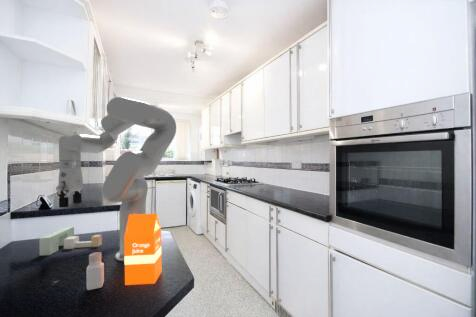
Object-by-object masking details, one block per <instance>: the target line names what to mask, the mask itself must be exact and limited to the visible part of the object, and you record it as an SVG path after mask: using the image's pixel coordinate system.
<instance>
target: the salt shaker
mask: <svg viewBox="0 0 476 317" xmlns="http://www.w3.org/2000/svg"><path fill="white" fill-rule="evenodd" d="M102 257H103V256H102V252H101V251H97V252H92V253H90V254H89V255H88V265H87V267H86V275H85V276H86V279H85V280H86V290H87V291H92V290H96V289H101V288H102V287H103V285H104V283H105V263H104V262H102Z"/></svg>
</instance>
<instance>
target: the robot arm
mask: <svg viewBox="0 0 476 317" xmlns="http://www.w3.org/2000/svg"><path fill="white" fill-rule="evenodd" d="M106 113H107V115H106V116H104V117H102V118H101V121H100V124H101V127H102V129H103V130H104V131H103V132H101V133H100V134H98V135H91V134H84V133H83V134H82V133H75V134H71V135H61V136H60V137H59V138H58V168H59V172H58V184H57V186H56V187H55V191H56V193H57V198H58V207H59V208H68V207H69V197H68V196H69V193H70V192H71V193H73V194H72V204H82V202H83V201H82V193H83V189H84V182H83V180H84V179H83V171H82V157H81V156H82V155H81V154H82V153H88V154H89V153H90V154H94V153H95V154H98V153H103V152H104V151H107V150H108V149H109V148H111V147H112V146H113V145H115V143H116V142H117V140H118V137H119V135H120V134H122V133H124V132H125V131H127V130H128V129H130V128H131V127H133V126H134V125H137V126H140V127H144V128H148V129H151V130H152V129H153V130H154V131H153V132H152V133H150V135H149V136H148V137H147V138H146V139H145V141H144V143H143V144H142V146H141V148H140V149H139V150H138V151H137V150H128V151H126V152H123V153H122V154H121V155H120V156H118V158H117V159H116V161H115V163H114V164H113V166H112V168H111V169H110V172H109V173H108V175H107V177H106V179H105V181H104V183H103V186H102V196H103V198H104V199H105V201H107V202H110V203H114V204H116V203H118V204H119V203H121V204H120V207H119V217H118V218H119V251H118V252H117V253H115V255H114V256H115V259H116V261H120V262H124V256H125V250H124V235H125V231H126V227H127V222H128V218H129V215H132V214H147V212H146V211H147V195H148V190H149V188H148V187H149V186H148V182H147V180H146V179H145V178H144V177H146V176H147V177H148V176H150V175H152V174H153V173H154V172H156V170H157V168H158V166H159V164H160V162H161V161H162V159H163V157H164V156H165V153H166V152H167V150H168V148H169V147H170V145H171V144H172V142H173V140H174V139H175V136H176V133H177V123H176V120H175V118H174V117H173V115H172V114H171V113H170V112H169V111H167V110H165V109H164V108H161V107H159V106H156V105H154V104H151V103H148V102H145V101H141V100H136V99H132V98H129V97H128V98H127V97H123V96H116V97H113V98H111V99H110V100H109V101H108V102H107V104H106Z"/></svg>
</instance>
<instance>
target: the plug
mask: <svg viewBox="0 0 476 317" xmlns="http://www.w3.org/2000/svg"><path fill="white" fill-rule="evenodd" d="M90 238H91V239H90V240H86V241H83V240H82V241H80V236H79V235H74V236H72V237H68V238H66V239H64V246H63V250H73V249H77V248H78V249H79V248H80V249H81V248H99V247H100V246H102V244H103V236H102V234H94V235H92V236H91V237H90Z"/></svg>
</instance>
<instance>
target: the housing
mask: <svg viewBox="0 0 476 317" xmlns="http://www.w3.org/2000/svg"><path fill="white" fill-rule="evenodd" d="M72 236H75V227H74V226H65V227H62V228H60V229H58V230H55V231H54V232H51V233H49V234H47V235H44V236H43V235H42V236H41V237H39V242H38V243H39V246H38V248H39V256H52V254H55V253H56V252H58V251H59V250H60V249H59V247H64V239H66V238H68V237H72Z"/></svg>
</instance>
